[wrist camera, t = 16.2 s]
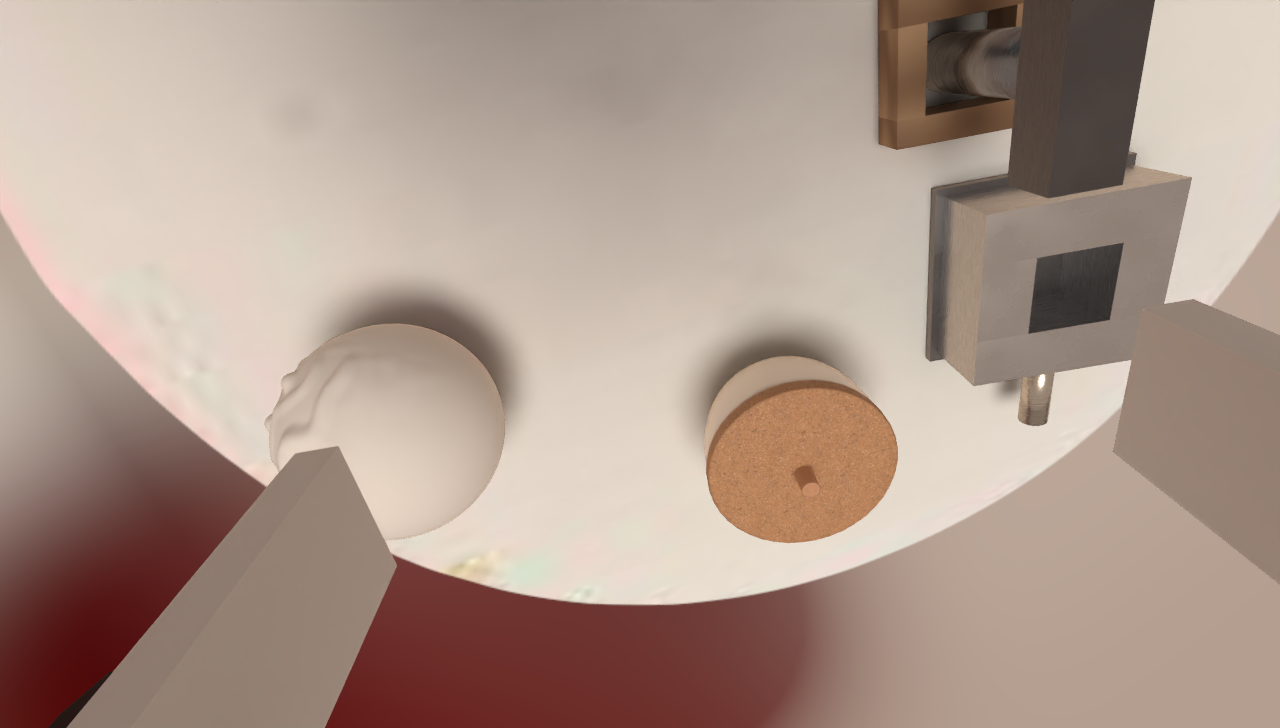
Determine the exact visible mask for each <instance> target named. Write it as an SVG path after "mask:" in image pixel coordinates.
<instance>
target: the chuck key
mask: <svg viewBox="0 0 1280 728" xmlns="http://www.w3.org/2000/svg"><path fill="white" fill-rule="evenodd" d="M1154 2H1155V0H1024V4H1023V15H1022V26H1019V27H1008V28H996V29H985V30H974V31H962V32H951V33H944V34H941V35H939V36H937V37H935V38H934V39H933V40H931V41H930V42H929V43H928V45H927V72H926V88H927V89H929V90H931V91H935V92H944V93H954V94H964V95H975V96H985V97H995V98H1006V99H1015V104H1014V116H1013V127H1012V138H1011V149H1010V160H1009V172H1008V183H1007V185H1008V186H1011V187H1014V188H1017V189H1020V190H1024V191H1027V192H1030V193H1033V194H1036V195H1039V196H1042V197H1045V198H1054V197H1059V196H1065V195H1070V194H1076V193H1081V192H1087V191H1092V190H1098V189H1103V188H1109V187H1114V186H1119V185H1123V181H1124V175H1125V169H1126V163H1127V158H1128V152H1129V146H1130V140H1131V135H1132V129H1133V123H1134V117H1135V112H1136V106H1137V100H1138V94H1139V88H1140V83H1141V77H1142V71H1143V65H1144V60H1145V54H1146V48H1147V42H1148V36H1149V31H1150V25H1151V19H1152V13H1153V8H1154Z"/></svg>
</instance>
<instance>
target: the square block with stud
mask: <svg viewBox="0 0 1280 728" xmlns="http://www.w3.org/2000/svg"><path fill="white" fill-rule="evenodd" d="M1136 154H1137V153H1134V152H1128V158H1127V163H1126V169H1125V175H1124V181H1123V185H1119V186H1114V187H1109V188H1103V189H1098V190H1092V191H1087V192H1081V193H1076V194H1070V195H1065V196H1059V197H1054V198H1045V197H1042V196H1039V195H1036V194H1033V193H1030V192H1027V191H1024V190H1020V189H1017V188H1014V187H1011V186H1008V185H1007V183H1008V174H1006V175H1000V176H995V177H989V178H984V179H979V180H973V181H968V182H963V183H957V184H952V185H946V186H941V187H936V188H932V191H931V220H930V249H929V278H928V307H927V336H926V358H927V359H928V360H929V361H935V360H941V359H945V360H946V361H947V362H948V363H949V364H950V365H951V366H952V367H954V368H955V369H956V370H957V371H958V372H959V373H960V374H961V375H962V376H963V377H964V378H965V379H967V380H968V381H969V382H970V383H971V384H972V385H973V386H977V385H983V384H989V383H995V382H1001V381H1007V380H1013V379H1019V378H1022V385H1021V394H1020V402H1019V411H1018V419H1019V421H1021V422H1022V423H1024V424H1027V425H1031V426H1040V425H1044V424H1046V423H1047V421H1048V415H1049V408H1050V401H1051V394H1052V387H1053V380H1054V373H1055V372H1061V371H1067V370H1073V369H1079V368H1085V367H1091V366H1097V365H1103V364H1109V363H1115V362H1121V361H1127V360H1132V356H1133V352H1134V347H1135V342H1136V337H1137V332H1138V327H1139V322H1140V317H1141V313H1142V308H1145V307H1151V306H1157V305H1163V304H1164V301H1165V297H1166V292H1167V288H1168V283H1169V279H1170V274H1171V270H1172V265H1173V261H1174V256H1175V252H1176V247H1177V243H1178V238H1179V234H1180V229H1181V225H1182V220H1183V216H1184V211H1185V207H1186V202H1187V198H1188V193H1189V189H1190V184H1191V180H1192V177H1187V176H1182V175H1177V174H1173V173H1168V172H1163V171H1158V170H1153V169H1148V168H1143V167H1138V166H1135V160H1136Z"/></svg>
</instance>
